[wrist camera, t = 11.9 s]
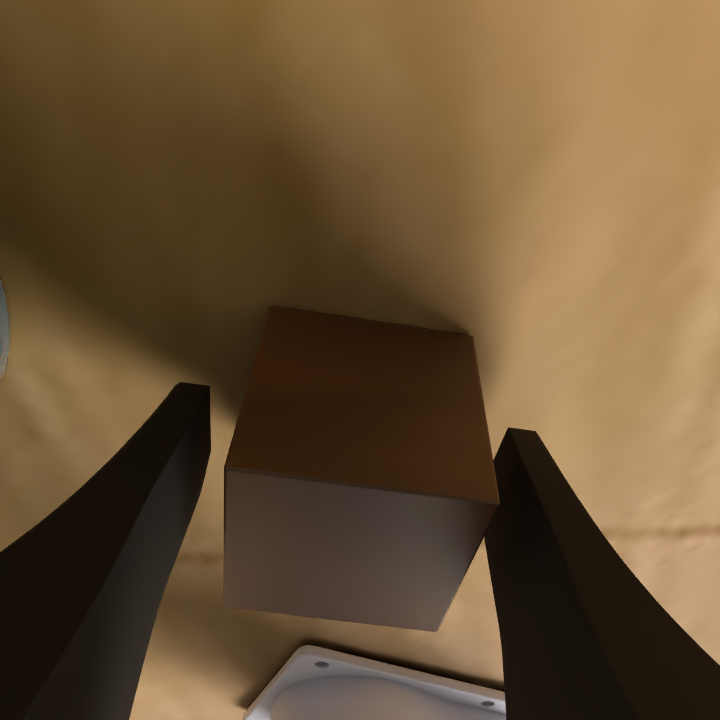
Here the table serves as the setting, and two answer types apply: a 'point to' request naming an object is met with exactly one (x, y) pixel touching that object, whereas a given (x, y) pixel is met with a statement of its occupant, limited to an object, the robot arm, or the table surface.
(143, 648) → the robot arm
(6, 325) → the bowl
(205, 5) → the table surface
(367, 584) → the block
